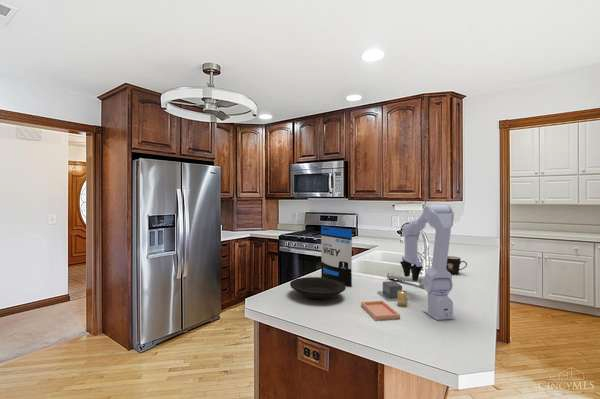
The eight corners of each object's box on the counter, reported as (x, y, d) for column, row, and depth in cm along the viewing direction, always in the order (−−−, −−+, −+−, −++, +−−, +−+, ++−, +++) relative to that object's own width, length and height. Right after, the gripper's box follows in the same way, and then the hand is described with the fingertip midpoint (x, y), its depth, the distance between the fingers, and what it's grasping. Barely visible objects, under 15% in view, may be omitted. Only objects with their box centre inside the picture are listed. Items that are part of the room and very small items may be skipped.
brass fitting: (408, 306, 134) (408, 292, 134) (400, 307, 133) (400, 293, 133) (404, 303, 138) (404, 290, 138) (395, 304, 137) (395, 290, 137)
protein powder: (327, 276, 185) (327, 225, 184) (357, 285, 165) (357, 229, 165) (315, 278, 179) (315, 226, 179) (345, 288, 160) (345, 230, 159)
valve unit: (408, 299, 142) (408, 286, 142) (387, 301, 141) (387, 288, 141) (395, 291, 155) (395, 279, 154) (376, 292, 153) (376, 280, 153)
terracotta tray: (400, 319, 120) (400, 314, 120) (375, 320, 119) (375, 316, 119) (382, 304, 136) (382, 300, 136) (361, 306, 135) (361, 301, 135)
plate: (279, 295, 149) (279, 283, 149) (312, 285, 166) (312, 274, 166) (323, 310, 130) (323, 297, 130) (356, 297, 147) (356, 285, 147)
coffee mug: (441, 272, 192) (441, 256, 192) (452, 271, 194) (453, 255, 194) (456, 277, 181) (456, 260, 180) (468, 276, 183) (468, 259, 183)
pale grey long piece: (391, 271, 180) (432, 274, 160) (392, 283, 179) (434, 287, 160) (385, 273, 176) (427, 276, 157) (387, 285, 176) (428, 289, 156)
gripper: (427, 252, 141) (427, 282, 141) (411, 247, 155) (411, 274, 156) (412, 252, 140) (412, 282, 140) (397, 247, 154) (397, 274, 154)
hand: (411, 278), depth 148 cm, fingers open, 7 cm apart
